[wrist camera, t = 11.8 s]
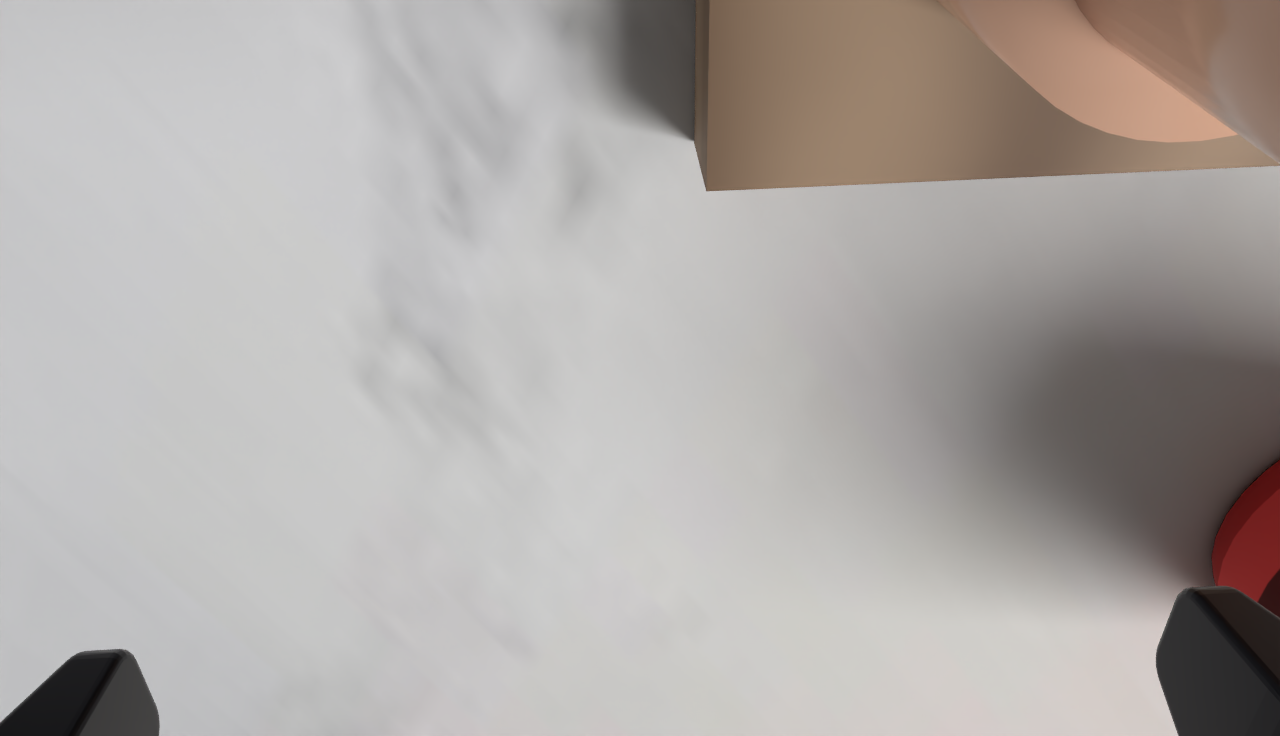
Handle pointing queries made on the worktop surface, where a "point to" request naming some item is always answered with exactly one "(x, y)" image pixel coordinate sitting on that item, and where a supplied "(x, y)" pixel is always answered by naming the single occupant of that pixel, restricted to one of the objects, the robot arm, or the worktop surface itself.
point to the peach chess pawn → (1144, 63)
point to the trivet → (890, 103)
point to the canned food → (1252, 543)
